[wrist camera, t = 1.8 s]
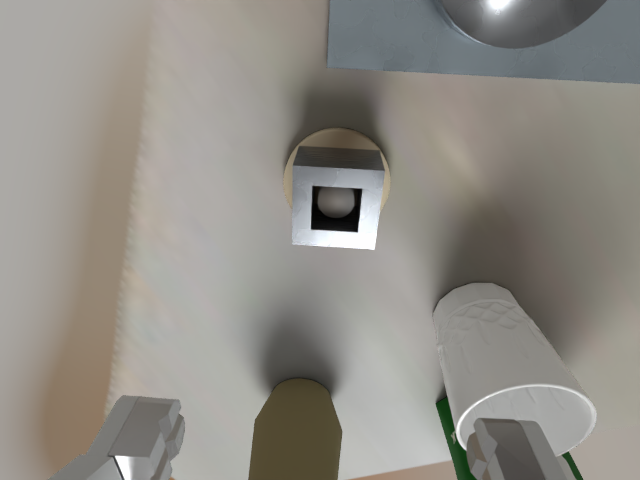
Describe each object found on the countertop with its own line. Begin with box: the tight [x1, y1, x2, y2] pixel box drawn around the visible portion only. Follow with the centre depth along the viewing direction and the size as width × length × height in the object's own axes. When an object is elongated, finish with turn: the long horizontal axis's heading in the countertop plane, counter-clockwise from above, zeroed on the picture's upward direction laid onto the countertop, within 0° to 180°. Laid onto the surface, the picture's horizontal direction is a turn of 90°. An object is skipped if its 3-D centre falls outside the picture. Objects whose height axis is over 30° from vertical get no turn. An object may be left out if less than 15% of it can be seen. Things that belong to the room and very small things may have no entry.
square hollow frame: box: [292, 146, 385, 249], centre depth 23 cm, size 5×5×4 cm
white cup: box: [433, 283, 597, 457], centre depth 27 cm, size 8×8×10 cm
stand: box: [283, 128, 391, 218], centre depth 24 cm, size 7×7×4 cm
